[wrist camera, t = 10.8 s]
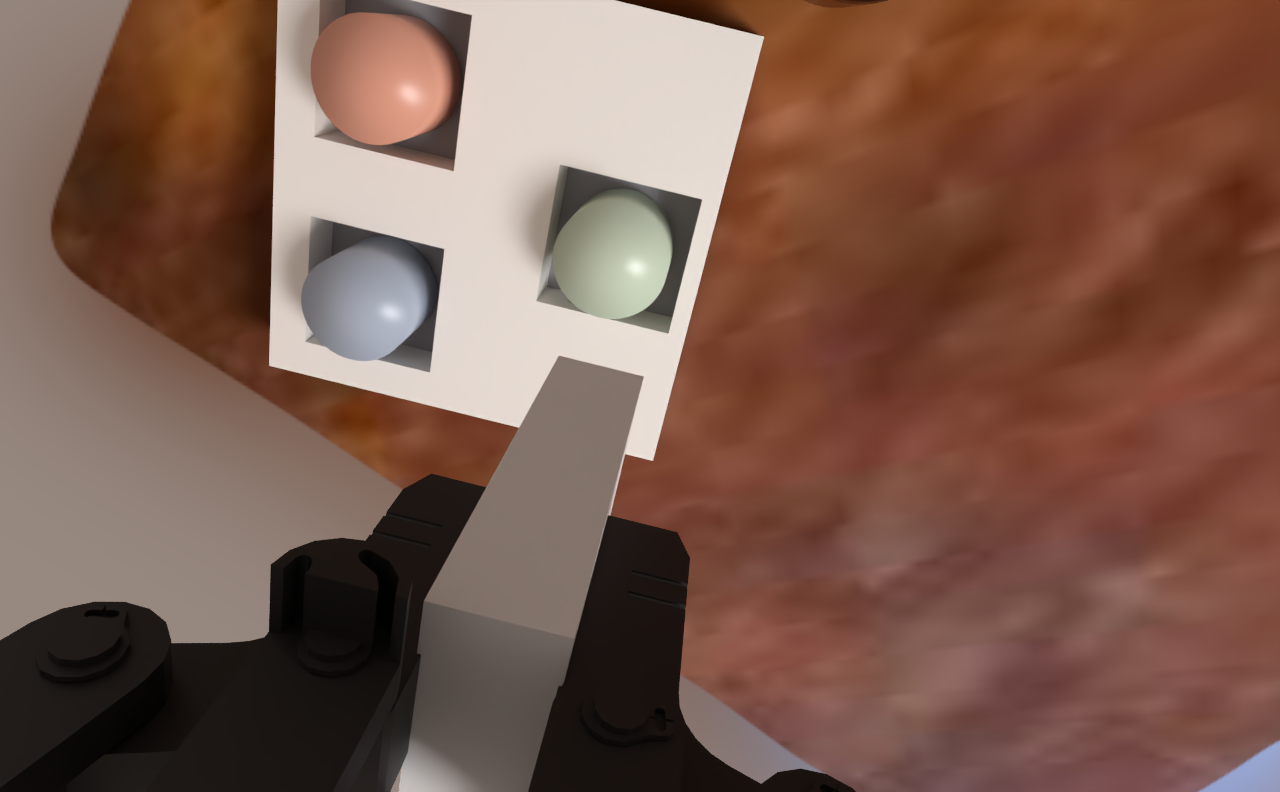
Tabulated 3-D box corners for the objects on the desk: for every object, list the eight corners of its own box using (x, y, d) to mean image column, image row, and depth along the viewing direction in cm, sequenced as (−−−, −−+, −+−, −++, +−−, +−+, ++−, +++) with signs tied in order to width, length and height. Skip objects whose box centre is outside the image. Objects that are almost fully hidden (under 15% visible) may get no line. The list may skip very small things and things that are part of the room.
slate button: (343, 225, 39) (303, 244, 36) (442, 249, 39) (412, 271, 36) (337, 319, 41) (298, 346, 38) (431, 342, 41) (402, 372, 38)
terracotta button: (357, 2, 35) (313, -2, 31) (468, 30, 35) (437, 29, 31) (349, 120, 37) (308, 129, 33) (454, 146, 37) (423, 157, 33)
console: (319, -72, 35) (279, -82, 32) (761, 36, 35) (764, 36, 32) (302, 342, 44) (269, 365, 41) (658, 430, 44) (652, 460, 40)
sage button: (580, 176, 37) (563, 192, 33) (685, 202, 37) (680, 220, 33) (561, 279, 39) (543, 303, 35) (660, 303, 39) (653, 330, 35)
